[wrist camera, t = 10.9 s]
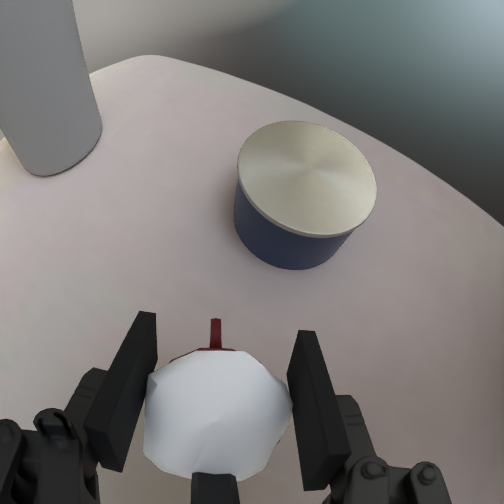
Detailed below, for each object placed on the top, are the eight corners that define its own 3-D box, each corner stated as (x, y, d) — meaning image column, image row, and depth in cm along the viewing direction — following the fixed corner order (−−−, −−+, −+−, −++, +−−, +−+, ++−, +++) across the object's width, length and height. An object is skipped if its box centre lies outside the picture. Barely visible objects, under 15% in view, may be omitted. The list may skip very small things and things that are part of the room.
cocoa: (195, 318, 17) (164, 204, 6) (295, 360, 17) (424, 315, 6) (131, 458, 13) (17, 543, 2) (232, 501, 13) (263, 639, 2)
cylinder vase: (10, 174, 31) (-69, 30, 8) (52, 111, 36) (10, -26, 13) (76, 183, 31) (-2, -9, 8) (118, 113, 36) (90, -54, 14)
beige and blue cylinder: (320, 165, 36) (342, 118, 29) (361, 257, 31) (398, 221, 24) (220, 178, 33) (223, 126, 26) (249, 284, 29) (261, 249, 22)
